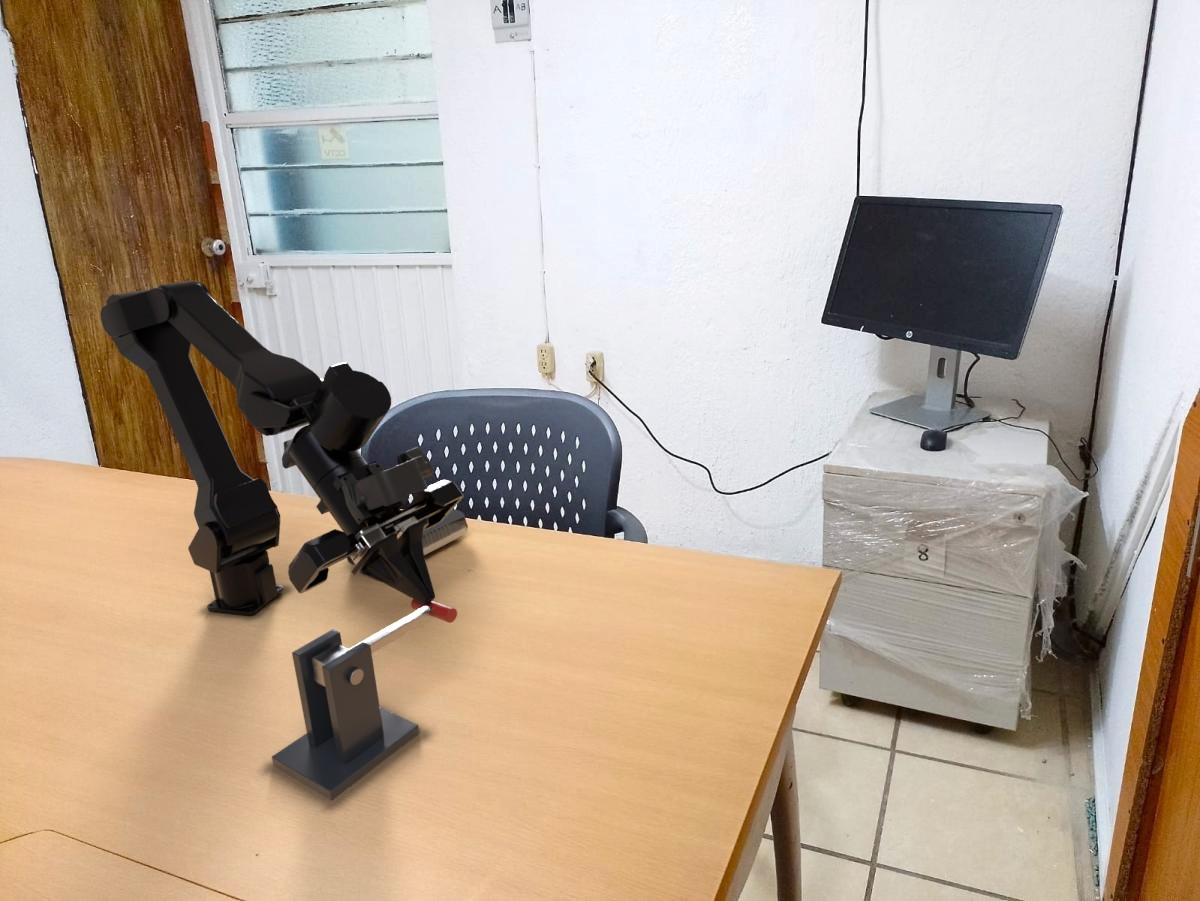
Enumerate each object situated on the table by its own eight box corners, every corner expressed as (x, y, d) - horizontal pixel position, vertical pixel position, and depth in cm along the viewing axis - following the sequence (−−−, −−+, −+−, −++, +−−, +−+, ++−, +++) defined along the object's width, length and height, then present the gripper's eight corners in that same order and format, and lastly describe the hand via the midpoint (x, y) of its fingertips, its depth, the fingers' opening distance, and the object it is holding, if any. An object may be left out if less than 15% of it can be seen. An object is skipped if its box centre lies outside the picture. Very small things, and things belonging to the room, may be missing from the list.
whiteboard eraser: (383, 584, 104) (379, 557, 103) (341, 567, 109) (337, 541, 108) (474, 537, 117) (472, 513, 115) (433, 523, 121) (431, 500, 120)
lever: (422, 610, 84) (420, 588, 83) (458, 623, 81) (456, 601, 80) (304, 677, 73) (300, 653, 72) (341, 695, 70) (338, 670, 69)
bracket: (362, 707, 81) (347, 610, 77) (420, 735, 77) (406, 634, 73) (273, 767, 73) (252, 663, 70) (332, 802, 69) (312, 693, 65)
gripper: (286, 460, 71) (391, 607, 68) (441, 405, 85) (532, 525, 83) (248, 525, 78) (342, 661, 75) (397, 463, 92) (480, 576, 90)
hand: (430, 601), depth 81 cm, fingers closed
